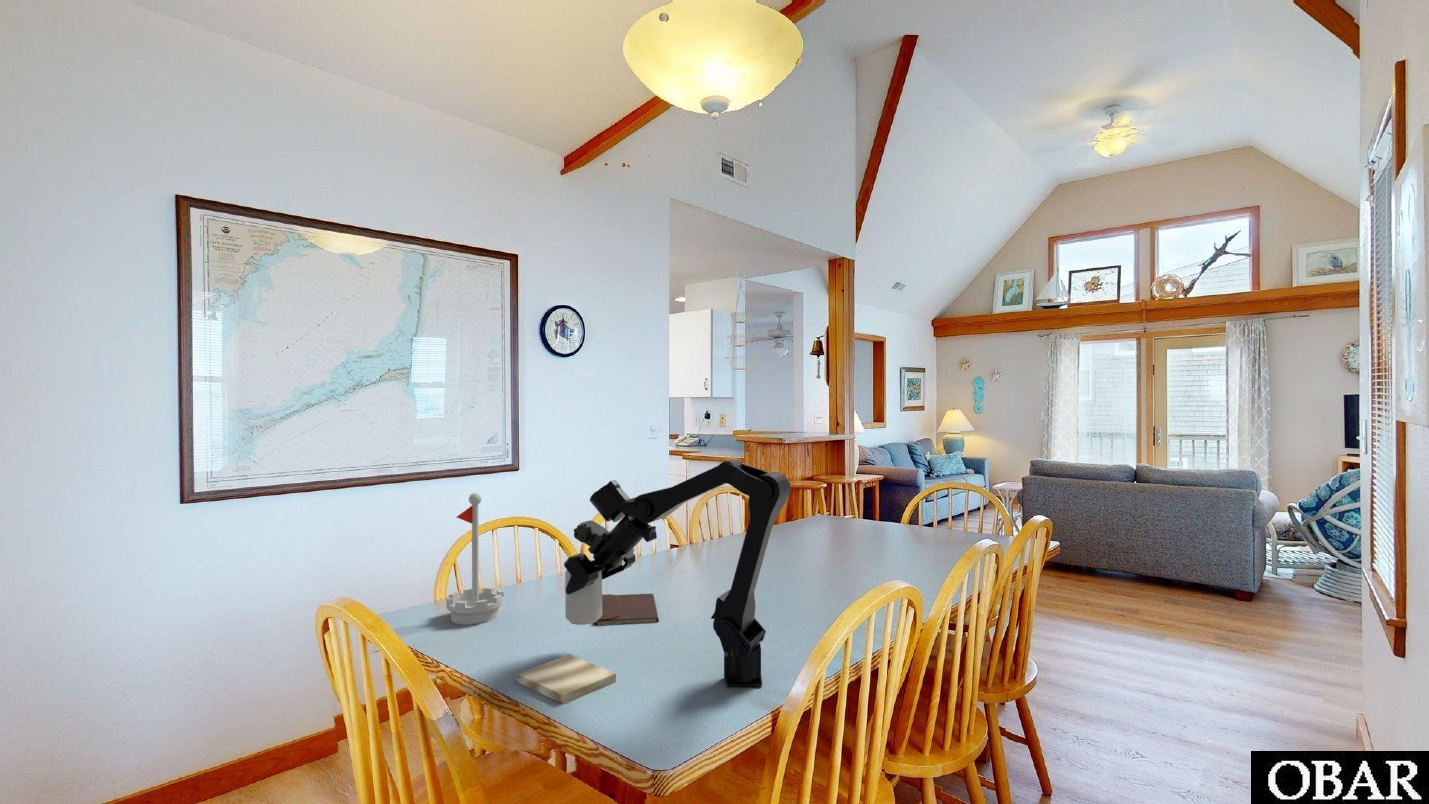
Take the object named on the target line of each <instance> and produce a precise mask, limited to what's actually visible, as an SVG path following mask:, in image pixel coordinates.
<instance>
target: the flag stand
mask: <svg viewBox="0 0 1429 804" xmlns="http://www.w3.org/2000/svg"><path fill="white" fill-rule="evenodd" d="M468 502H469V504H471V505H470V507H468V508H466V509H464V511H463V512H461V513H460V514H458V515H457V516H456V518H457V519H460V520H462V521H464V522H467V523H470V524H471V588H470V587H469V588H465V589H464V588H463V593H462V594H459V592H458V591H453V592H451V593H450V594H448V597H446V599H445V601H446V602H445V604H446V606H445V607H446V610H448V611H449V612H450V620H451V622H452V623H454V624H458V625H477V624H483V623H486V622H491V621H494V620H495V619H497V618H498V617H499V616H500V607H501V606H503V604H504V602H505V601H504V600H505V599H504V594H505V593H504V591H503V589H497V590H496V592H495V587H486V586H485V587H483V591H479V589H480V588H479V587H480V584H479V583H480V581H479V579H480V578H479V575H480V574H479V570H480V567H479V562H480V561H479V556H480V554H479V543H480V542H479V541H480V540H479V527H480V526H479V524H480V522H479V517H480V516H479V513H480V511H479V508H480V507H479V504H480V503H481V502H482V496H481V494H480V493H478V492H473V493H471V494H470V495H469V497H468Z"/></svg>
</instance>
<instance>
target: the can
mask: <svg viewBox="0 0 1429 804" xmlns="http://www.w3.org/2000/svg"><path fill="white" fill-rule="evenodd" d="M589 560H590V561H593V560H594V559H593V560H591V559H589ZM564 577H565V579H564V582H565V583H564V587H565V589H566V587H567V584H568V582H569V580H570V577H571V574H570V573H569V572H568V571H567V569H565V572H564ZM565 589H564V590H565ZM564 592H565V591H564ZM564 595H565V597H564V598H565V605H564V606H565V619H566V620H567V621H569V623H570V624H572V625H576V626H577V625H579V626H581V625H582V626H584V625H585V626H586V625H591V624H594V622H596V623H597V621H598V619H599V618H600V617H601V616H602V595H603V580H602V570H601V571H599V572H598V578H597V579H596V580H595V581H594V584H592V585H589V586H587V587H585V588H583V589H580V590H578V591H576V592H573V593H571V594H569V595H568V594H567V593H566V592H565V594H564Z"/></svg>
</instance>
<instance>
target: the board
mask: <svg viewBox="0 0 1429 804" xmlns="http://www.w3.org/2000/svg"><path fill="white" fill-rule="evenodd" d="M516 682H517V683H519V684H521V685H523V686H525V687H528V688H529V689H531V690H534V691H536V692H537V693H540V694H541V695H542V696H543V695H544V696H546V697H547V698H549V699H552V700H554V701H556V702H558V703H560V704H566V703H568V702H571V701H572V700H575V699H578V698H580V697H582V696H584V695H588V694H590V693H592V692H595V691H597V690H599V689H601V688H604V687H606V686H608V685H612V684H613V683H616V682H617V673H616V672H614V671H611V670H608V669H606V668H604V667H601V666H599V665H596V664H594V663H592V662H589V661H587V660H583V659H581V658H579V657H576V656H574V655H571V654H568V655H565V656H562V657H559V658H557V659H554V660H551V661H548V662H545V663H543V664H540V665H537V666H534V667H532V668H528V669H525V670H522V671H520V672H518V673H516ZM594 690H595V691H594Z"/></svg>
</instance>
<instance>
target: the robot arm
mask: <svg viewBox="0 0 1429 804" xmlns="http://www.w3.org/2000/svg"><path fill="white" fill-rule="evenodd" d="M727 484H728V485H730V486H731V487H733V488H735V489H736V490H737V491H738V492H740V493H742V494H744V495H746V496H748V503H747V504H748V514H749V515H748V516H749V520H748V524H747V529H746V532H745V535H744V539H743V543H742V548H741V551H740V554H739V557H738V561H737V565H736V567H735V569H736V570H735V573H734V576H733V580H732V583H731V588H730V589H728V590H727V591H725V592H724V593H722V594H721V595H720V596H718V597H717V598H716V601H715V606H714V607H715V608H714V611H713V614H712V615H711V617H710V619H711V620H713V622H712V627H713V628H712V629H713V631H714V633H715V634H716V636H717V637H718V638H719V641H720V645H721V647H722V650H723V652H724V653H723V679H724V680H726V686H727V687H762V686H763V680H762V678H763V677H762V647H761V645H762V644H761V643H762V642H763V641H764V639H765V636H766V635H767V631H766V629H765V628H764V627H763V626H762V624H760V622H759V621H758V619H756V618H755V615H756V598H755V590H756V587H757V584H758V579H759V576H760V572H761V569H762V566H763V565H762V564H763V561H764V557H765V554H766V551H767V547H768V543H769V540H770V537H771V532H772V529H773V527H774V523H775V521H776V520H777V517H778V516H779V514H780V513H781V512H782V509H783V508H784V506H785V503H786V502H787V500H788V497H789V495H790V494H791V493H790V492H791V488H792V487H791V482H790V481H789V479H788V478H787V477H786V475H784V474H783V473H781V472H780V471H778V472H777V471H772V472H771V471H770V472H769V471H766V470H763V469H760V468H757V467H754V466H750V465H747V464H745V463H742V462H741V461H739V460H736V459H730V460H726V461H722V462H720V463H719V464H718V465H716V466H714V467H712V468H710V469H707V470H706V471H703V472H701V473H699V474H697V475H695V476H692V477H691V478H688V479H687V480H684V481H682V482H679V483H677V484H675V485H673V486H671V487H666V488H662V489H657V490H654V491H650V492H646V493H643V494H640V495H637V497H636V496H635V497H632V498H630V497H629V496H628V494H627V492H625V491H624V490H623V488H622V486H621V485H620V483H619V482H618V481H617V480H616V479H613V480H609V482H607V484H605V485H603V486H602V487H600V488H599V489H598V490H596V491H595V492H593V493H592V495H590V498H589V502H590V503H591V504H592V506H593V507H594V508H595V510H597V512H598V513H599V514H600V515H601V516H602V518H603V519H604V520H605V521H606V522H611V521H612V522H613V523H616V522H617V524H616V525H615V526H614V527H613V528H612V529H611V530H610V531H609V530H607V528H605V527H604V526H602V525H601V524H599V523H598V522H596V521H594V520H586V521H581V522H580V523H579V524H578V525H577V527H575V528H574V529H573V537H574V539H576V540H577V541H579V542H580V543H584V544H585V545H586V546H588V548H587V551H588V552H589V553H590V554H592V558H593V561H590V560H591V559H589V557H588V556H587V554H585V553H576V554H574V555H572V556H568V558H567V559H566V560H565V561H564V563H563V567H564V568H565V570H567V571H568V572H569V573H570V574H571V577H570V580H569V582H568V584H567V587H566V589H564V592H566V593H567V594H568V595H569V594H571V593H573V592H576V591H578V590H580V589H583V588H585V587H587V586H589V585H592V584H594V581H595V580H596V579H597V578H598V572H599V571H601V570H602V581H603V580H605V579H607V578H610V577H611V576H614V575H617V574H619V573H621V572H624V570H626V569H628V568H630V567H632V566H633V565H634V564H635V563H636V554H635V553H634V552H635V550H636V549H635V547H636V546H637V545H638V544H639V543H640V542H641V541H642V540H644V541H645V542H647V543H649V542H651V541H654V540H656V539H657V538H658V536H657V534H658V533H657V531H656V529H657V527H656V526H655V525H653V526H652V525H651V523H653V522H656V521H659V520H662V519H665V518H667V517H668V516H670V515H671V514H673V513H674V512H675V511H676V510H677V509H679V508H680V507H681V506H682V505H684V504H685V503H687V502H689V501H691V500H693V499H696V498H697V497H699V496H702V495H704V494H707V493H709V492H711V491H713V490H716V489H718V488H720V487H722V486H724V485H727ZM623 562H624V564H623Z"/></svg>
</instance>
